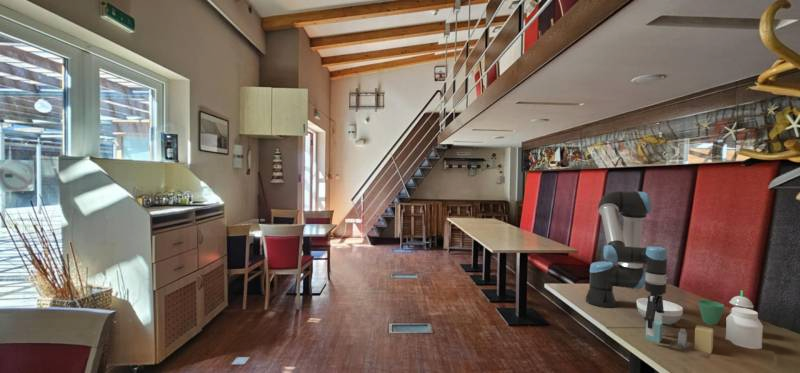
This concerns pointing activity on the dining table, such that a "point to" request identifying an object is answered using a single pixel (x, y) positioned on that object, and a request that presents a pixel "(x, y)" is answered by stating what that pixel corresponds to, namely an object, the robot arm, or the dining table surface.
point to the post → (682, 338)
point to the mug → (710, 311)
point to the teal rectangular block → (656, 332)
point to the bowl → (670, 310)
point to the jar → (744, 328)
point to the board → (689, 349)
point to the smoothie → (740, 302)
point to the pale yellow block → (703, 339)
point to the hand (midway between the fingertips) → (654, 331)
